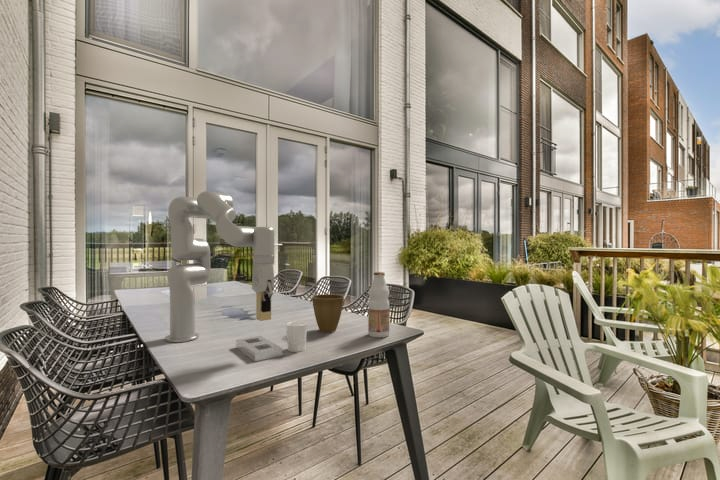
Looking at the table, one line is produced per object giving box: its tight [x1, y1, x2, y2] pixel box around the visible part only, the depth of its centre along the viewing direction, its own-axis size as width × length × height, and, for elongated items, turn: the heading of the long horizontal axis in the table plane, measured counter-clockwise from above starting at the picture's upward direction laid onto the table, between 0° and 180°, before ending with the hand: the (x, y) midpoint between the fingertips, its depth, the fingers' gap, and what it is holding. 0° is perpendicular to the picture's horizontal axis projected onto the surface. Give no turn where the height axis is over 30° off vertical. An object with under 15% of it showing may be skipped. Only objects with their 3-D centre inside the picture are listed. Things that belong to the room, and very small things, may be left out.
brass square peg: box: [254, 290, 272, 322], centre depth 132 cm, size 5×5×11 cm
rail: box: [235, 335, 283, 362], centre depth 136 cm, size 20×10×3 cm, turn 37°
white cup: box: [285, 320, 308, 353], centre depth 139 cm, size 8×8×10 cm
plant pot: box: [311, 293, 345, 333], centre depth 168 cm, size 15×15×16 cm
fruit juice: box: [367, 271, 391, 339], centre depth 160 cm, size 9×9×28 cm
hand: (263, 310), depth 132 cm, fingers closed on brass square peg, 4 cm apart
